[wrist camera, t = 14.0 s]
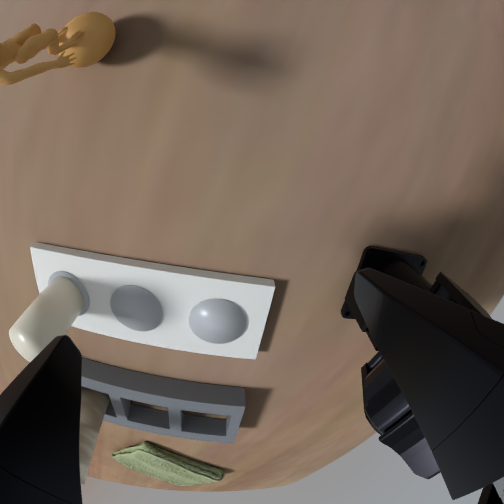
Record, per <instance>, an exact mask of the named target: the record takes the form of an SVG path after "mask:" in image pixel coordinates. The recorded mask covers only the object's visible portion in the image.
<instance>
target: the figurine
mask: <svg viewBox="0 0 504 504" xmlns="http://www.w3.org/2000/svg"><path fill="white" fill-rule="evenodd" d="M114 40H115V26H114V24H113V22H112V20H111V19H110V18H109V17H107V16H106V15H104V14H102V13H97V12H89V13H85V14H82V15H79V16H77V17H75V18H74V19H72V20H71V21H70V22H69V23H67V24H66V26H65V27H64V28H62V29H61V30H60V32H59V33H58V32H57V31H56V30H55V29H48V30H46V31H44V32H42V33H41V29H40V27H39V26H38V25H37V24H31V25H30V26H28V27H27V28H26V29H24V30H23V31H21V32H19V33H18V34H16V35H15V36H14V37H12V38H10V39H8V40H6V41H5V42H3V43H0V84H3V85H10V84H14V83H17V82H19V81H21V80H24V79H26V78H28V77H32V76H35V75H37V74H40V73H43V72H45V71H47V70H50V69H54V68H63V67H67V66H72V67H86V66H89V65H92V64H94V63H96V62H98V61H99V60H101V59H102V58H103V57H104V56H105V55H106V54H107V53H108V52H109V50H110V49H111V47H112V45H113V43H114ZM45 48H47V51H48V53H49V54H54V55H57V54H58V55H59V58H58V59H57V60H55V61H50V62H43V63H39V64H35V65H33V66H31V67H28V68H25V69H21V70H17V71H14V72H7V71H5V70H2V69H4V68H5V67H6V66H7V65H9V64H10V63H12V62H14V61H16V62H17V63H19V64H22V63H25V62H26V61H28V60H29V59H31V58H33V57H34V56H35V55H36V54H37V53H38V52H39V51H41V50H42V49H45Z"/></svg>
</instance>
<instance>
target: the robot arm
mask: <svg viewBox="0 0 504 504" xmlns="http://www.w3.org/2000/svg"><path fill="white" fill-rule="evenodd" d="M371 251H372V253H371V254H370V255H368V254H369V252H371ZM421 261H422V262H421ZM426 263H427V260H426V259H425V258H424V257H423V256H419V255H414V254H409V253H404V252H399V251H394V250H389V249H384V248H378V247H373V246H368V247H366V248H365V250H364V251H363V254H362V257H361V260H360V263H359V266H358V268H357V271H356V272H355V273H354V276H353V278H352V281H351V283H350V286H349V289H348V291H347V294H346V296H345V302H344V304H343V307H342V309H341V315H342V317H343V318H348V319H356V321H357V323H358V324H359V326H360V328H361V330H362V332H366V333H367V335H368V337H369V339H370V340H371V342H372V344H373V346H374V348H375V350H376V351H379V352H378V353H377V354H376V355H375V356H374V357H373V358H372V359H371V360H370V361H369V362H368V363H366V364H365V365H364V366H363V367H362V368H361V373H362V386H363V401H364V412H365V415H366V418H367V420H368V421H369V423H370V425H371V426H372V427H373V428H374V430H376V431H377V432H378V433H379V434H380V435H381V436H380V437H379V441H380V442H382V443H383V444H385V445H387V446H389V447H391V448H392V449H393V450H394V451H395V452H397V453H398V454H399V455H400V456H401V457H402V458H403V460H404V461H405V462H406V463H407V464H408V466H409V467H410V468H411V470H412V471H413V472H414V473H415V474H416V475H419V476H421V477H424V478H426V479H430V478H432V477H434V476H435V475H437V474H438V473H440V472H441V474H442V476H443V479H444V481H445V483H446V486H447V488H448V491H449V493H450V495H451V498H452V499H453V500H455V499H457V498H460V497H462V496H465V495H467V494H470V493H472V492H474V491H476V490H479V489H481V488H483V490H482V493H481V496H480V499H479V502H478V504H504V324H502V323H500V322H497V321H495V320H493V319H492V318H491V317H490V315H489V314H488V313H487V312H486V311H485V310H484V309H483V308H482V307H481V306H480V305H479V304H478V303H477V302H476V301H475V300H474V299H473V298H472V297H471V296H470V295H469V294H468V293H467V292H465V291H464V290H463V289H462V288H460V287H459V286H458V285H457V284H455V283H454V282H453V281H452V280H450V279H449V278H448V277H447V276H445V275H444V274H443V273H441V272H440V273H439V274H438V276H437V277H436V279H437V280H436V281H435V283H434V284H433V285H431V284H430V283H429V282H428V281H427V280H426V279H425V278H424V277H423V276H422V273H423V271H424V268H425V266H426ZM347 311H348V312H347ZM346 312H347V313H346ZM81 382H82V355H81V353H80V351H79V349H78V348H77V347H76V345H75V344H74V343H73V341H72V340H71V339H70V337H69V336H67V335H60V336H56V337H55V338H54V339H53V340H52V341H51V342H50V343H49V344H48V345H47V346H46V347H45V348H44V349H43V350H42V351H41V352H40V353H39V354H38V355H37V356H36V357H35V358H34V359H33V360H32V361H31V362H30V363H29V364H28V365H27V366H26V367H25V368H24V369H23V371H22V372H21V373H20V374H19V375H18V376H17V377H16V378H15V379H14V380H13V381H12V382H11V384H10V385H9V386H8V387H7V388H6V389H5V390H4V391H3V392H2V394H1V395H0V504H82V495H81V482H80V456H79V441H80V414H81Z"/></svg>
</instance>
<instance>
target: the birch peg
mask: <svg viewBox="0 0 504 504" xmlns="http://www.w3.org/2000/svg"><path fill="white" fill-rule="evenodd" d="M109 400H110V397H109V394H106V393H102V392H99V391H96V390H92V389H89V388H86V387H83V386H82V388H81V414H80V441H79V456H80V482H81V484H85V480H86V476H87V472H88V468H89V465H90V461H91V457H92V454H93V450H94V447H95V444H96V440H97V437H98V434H99V430H100V427H101V424H102V421H103V418H104V415H105V412H106V409H107V406H108V403H109Z"/></svg>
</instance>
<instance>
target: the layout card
mask: <svg viewBox="0 0 504 504" xmlns="http://www.w3.org/2000/svg"><path fill="white" fill-rule="evenodd" d="M30 249H31V255H32V261H33V266H34V271H35V276H36V281H37V285H38V289H39V293H40V294H39V296H38V297H37V298H36V299H35V300H34V301H33V302H32V303H31V305H30V306H29V307H28V308H27V309H26V310H25V312H24V313H23V314H22V315H21V316H20V318H19V319H18V320H17V321H16V322H15V324H14V325H13V326H12V327H11V329H10V330H9V336H10V339H11V342H12V344H13V345H14V347H15V348H16V350H17V351H18V352H19V353H20V354H21V355H22V356H23V357H24V358H25V359H26V360H27V361H29V362H31V361H32V360H33V359H34V358H35V357H36V356H37V355H38V354H39V353H40V352H41V351H42V350H43V349H44V348H45V347H46V346H47V345H48V344H49V343H50V342H51V341H52V340H53V339H54V338H55V337H56V336H60V335H66V333H67V332H68V330H69V329H70V327H71V326H73V327H76V328H80V329H83V330H87V331H91V332H95V333H99V334H103V335H107V336H111V337H115V338H119V339H124V340H128V341H133V342H138V343H143V344H148V345H153V346H158V347H164V348H170V349H176V350H182V351H188V352H195V353H202V354H210V355H218V356H226V357H235V358H246V359H256V356H257V353H258V349H259V345H260V342H261V338H262V335H263V331H264V327H265V324H266V320H267V316H268V313H269V309H270V305H271V301H272V298H273V294H274V290H275V283H274V280H272V279H264V278H257V277H249V276H242V275H234V274H227V273H220V272H213V271H206V270H199V269H192V268H186V267H179V266H172V265H166V264H159V263H153V262H147V261H140V260H134V259H128V258H122V257H116V256H110V255H104V254H98V253H93V252H87V251H81V250H76V249H70V248H65V247H59V246H54V245H49V244H43V243H38V242H36V243H35V244H33V245H32V246H31V247H30Z"/></svg>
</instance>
